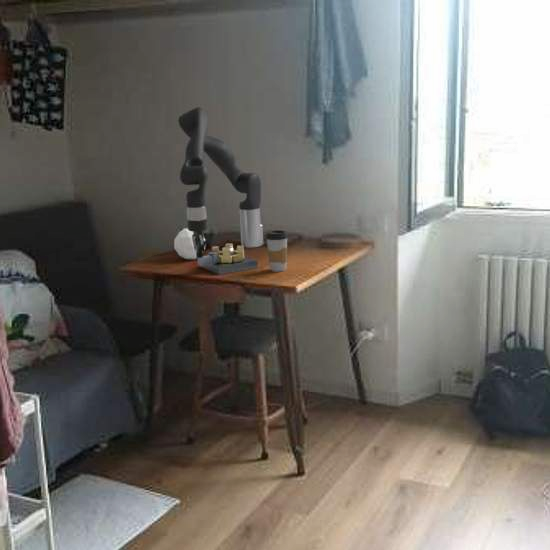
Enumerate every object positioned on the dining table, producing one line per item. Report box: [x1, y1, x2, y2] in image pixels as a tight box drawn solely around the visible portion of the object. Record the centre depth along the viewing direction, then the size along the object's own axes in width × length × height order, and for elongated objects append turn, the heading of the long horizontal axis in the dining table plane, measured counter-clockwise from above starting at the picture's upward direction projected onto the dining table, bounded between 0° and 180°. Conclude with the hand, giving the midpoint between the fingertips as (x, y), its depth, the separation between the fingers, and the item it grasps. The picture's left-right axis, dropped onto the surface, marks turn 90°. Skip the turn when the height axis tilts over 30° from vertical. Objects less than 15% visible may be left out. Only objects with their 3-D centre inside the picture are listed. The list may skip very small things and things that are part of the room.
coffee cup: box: [265, 229, 288, 273], centre depth 282 cm, size 8×8×15 cm
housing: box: [200, 246, 259, 275], centre depth 291 cm, size 17×17×8 cm
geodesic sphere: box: [173, 227, 206, 260], centre depth 310 cm, size 14×14×14 cm
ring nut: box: [197, 243, 245, 267], centre depth 288 cm, size 21×12×5 cm, turn 132°
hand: (199, 261), depth 285 cm, fingers closed
